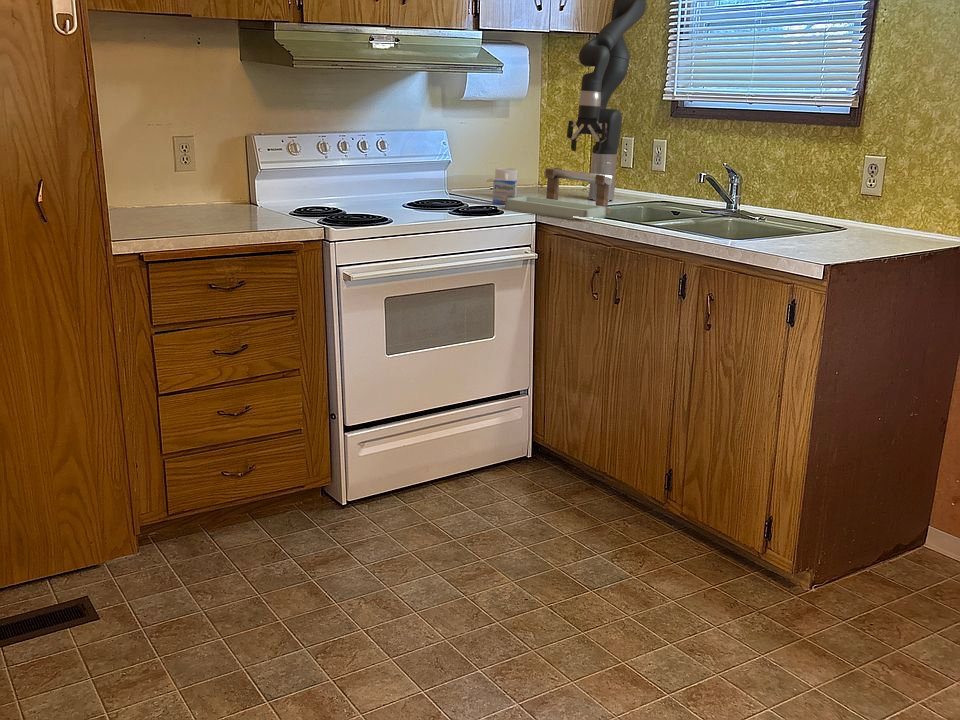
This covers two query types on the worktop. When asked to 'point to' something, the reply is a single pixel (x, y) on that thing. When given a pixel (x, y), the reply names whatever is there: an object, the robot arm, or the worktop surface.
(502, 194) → the medicine box
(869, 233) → the worktop surface
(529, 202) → the tray
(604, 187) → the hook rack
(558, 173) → the rail
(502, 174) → the mug
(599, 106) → the robot arm
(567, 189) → the worktop surface
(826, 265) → the worktop surface
